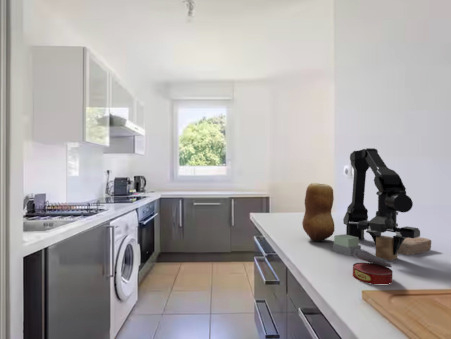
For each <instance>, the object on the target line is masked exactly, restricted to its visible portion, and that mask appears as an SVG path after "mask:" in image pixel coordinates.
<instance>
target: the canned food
mask: <svg viewBox="0 0 451 339" xmlns="http://www.w3.org/2000/svg"><path fill="white" fill-rule="evenodd" d="M353 256H354V257H355V258H357V259H359V260H362V261H364V262H355V263H353V264H352V277H353V278H354V279H355V280H357V281H360V282H361V283H362V282H363V283H365V284H369V283H371V284H370V285H374V284H389V283H392V284H393V270H392V269H391V268H392V267H393V266H392V265H391V264H390V263H389V262H386V260H385V259H382V258H378V257H377V256H376V254H373V253H371V252H369V251H367V250H364V249H362V248H361V249H355V250H354V251H353ZM389 285H390V284H389Z"/></svg>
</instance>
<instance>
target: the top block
mask: <svg viewBox="0 0 451 339" xmlns="http://www.w3.org/2000/svg"><path fill="white" fill-rule="evenodd" d="M333 239H334V242H333V244H338V245H341V246H345V247H353V246H359V245H360V244H359V242H360V240H359V237H354V236H350V235H346V234H345V233H344V234H337V235H334V238H333Z"/></svg>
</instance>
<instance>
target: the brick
mask: <svg viewBox="0 0 451 339" xmlns="http://www.w3.org/2000/svg"><path fill="white" fill-rule="evenodd" d="M431 249H432V240H431V239H429V238H425V237H421V236H420V237H417V238H405V239H404V241H403V242H402V244H401V246H400V248H399V250H398V252H397V254H402V255H406V256H410V255H414V254H420V253H425V252H428V251H430V250H431Z"/></svg>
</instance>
